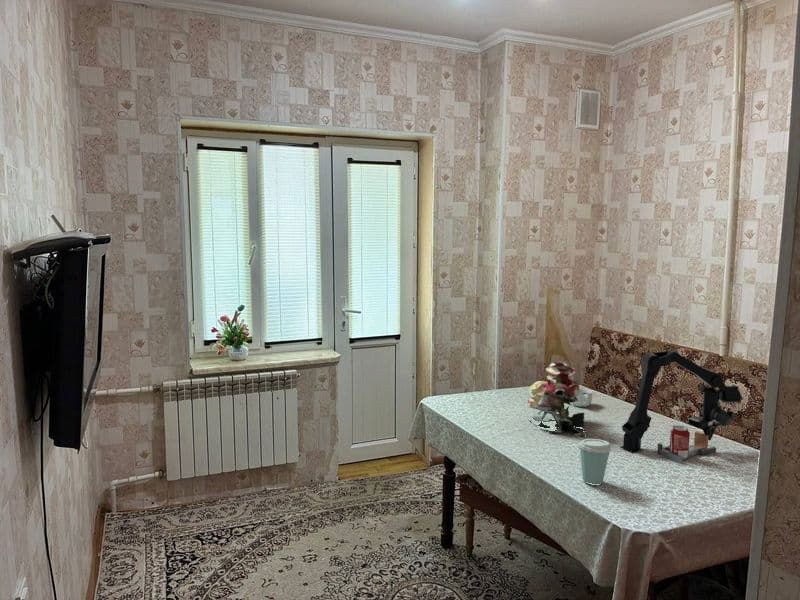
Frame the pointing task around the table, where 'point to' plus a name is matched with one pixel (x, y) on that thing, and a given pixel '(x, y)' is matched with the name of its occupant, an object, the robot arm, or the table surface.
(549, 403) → the rose bouquet
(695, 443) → the brown boxy piece
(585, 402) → the teacup
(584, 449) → the disposable coffee cup
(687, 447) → the soda can
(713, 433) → the robot arm
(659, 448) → the press fence
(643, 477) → the table surface
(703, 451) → the ram guide
